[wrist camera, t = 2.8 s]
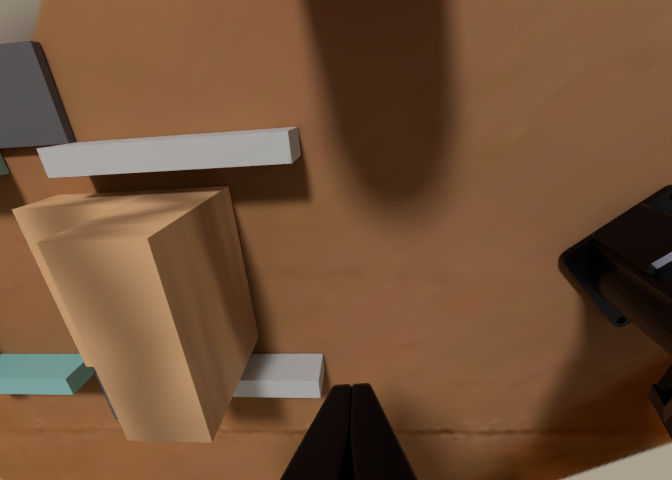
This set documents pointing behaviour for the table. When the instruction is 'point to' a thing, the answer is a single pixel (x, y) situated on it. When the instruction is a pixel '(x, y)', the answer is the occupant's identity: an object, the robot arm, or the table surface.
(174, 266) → the step block
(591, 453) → the table surface
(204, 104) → the table surface
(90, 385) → the table surface
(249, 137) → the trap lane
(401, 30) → the table surface
